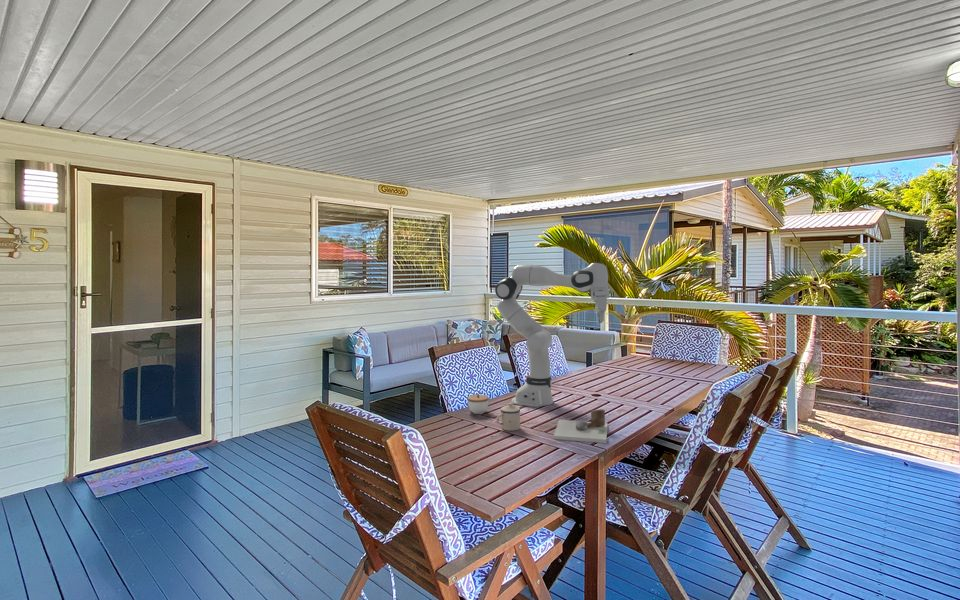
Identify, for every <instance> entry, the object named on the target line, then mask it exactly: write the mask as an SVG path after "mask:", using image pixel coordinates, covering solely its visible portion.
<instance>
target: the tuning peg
mask: <svg viewBox="0 0 960 600" xmlns="http://www.w3.org/2000/svg"><path fill="white" fill-rule="evenodd" d="M605 416H606V410H605V409H603V408H600V409H595V410H590V422H591V423H587V422H588V421H585V420H575V421H576V429H579V430H586V429H587V428H590V427H597V426H604V425H605V423H606V420H605V419H606V417H605Z"/></svg>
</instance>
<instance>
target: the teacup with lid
mask: <svg viewBox="0 0 960 600" xmlns="http://www.w3.org/2000/svg"><path fill="white" fill-rule="evenodd" d="M499 419H500V420H501V421H500V420H499ZM496 423H497V425H499V426H501V427H500V428H501V430H504V431H508V432H511V431H512V432H515V431H518V430H520V429H521V408H520V407H519V406H516V405H515V404H512V402H508V404H507V405H505V406H502V407H501V408H500V413H499V414H498V415H496Z"/></svg>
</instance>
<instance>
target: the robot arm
mask: <svg viewBox="0 0 960 600" xmlns="http://www.w3.org/2000/svg"><path fill="white" fill-rule="evenodd" d="M608 273H609V272H608V268H607V266H606V265H605V264H604V263H602V262H591V263H590V264H589V265H588V266H586V267H585V268H582V269H579V270H576V271H574V272H573V274H571V275H569V274H562V273H557V272H555V271H554V270H551V269H549V268H548V267H546V266H543V265H542V266H541V265H537V264H518V265H516V266H514V267H513V269H512V271H511V275H510V277H509V276H508V277H506V278H504V279H501V280H499V282H497V284H496V285H495V288H494V289H495V290H494V291H495V295H496V296H497V298H499V299H500V300H499V301H498V303H497V307H496V309H497V311H498V312H499V313H500V315H501V316H502V317H503V319H504V320H505V321H506V322H507V323H508V324H509V325H510V327H512V328H513V329H514V331H515V332H517V333H518V334H519V335H521V336H522V337H524V338H525V339H526V348H527V354H528V360H529V361H528V362H529V374H527V375H526V377H525V383H524V384H523V385H521V386H520V387H519V388H518V389H517V390H516V392H515V396H514V397H512V398H511V403H512V404H513V405H518V406H526V407H535V408H540V407H544V406H550V405H552V404H554V399H553V396H552V395H553V394H552V376H551V361H550V355H549V347H550V346H551V345H552V343H553V341H552V340H553V337H552V333H550V331H548V330H547V329H546V328H545V327H544V326H542V324H540V323H539V322H538V321H536V320H535V319H533V317H532V316H530V315H529V314H528V312H527V311H526V310H525V309H524V308H523V307H522V306H521V305H520V304H519V303H518V302H517V299H518V298H519V297H520V294H521V292H522V290H523V286H530V287H531V286H533V287H550V286H556V287H557V286H558V287H565V288H572V289H576V290H577V291H579V292H580V293H583V294H584V293H586V294H587V293H589V292H590V298H591V299H592V300H593V302H594V304H595V305H594V307H595V308H594V309H595V315H596V316H597V319H598V320H597V321H598V324H602V323H603V322H605V312H606V311H607V306H608V305H607V303H608V302H607V301H608V299H609V298H610V291H609V285H608V282H609V274H608Z"/></svg>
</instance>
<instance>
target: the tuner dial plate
mask: <svg viewBox="0 0 960 600" xmlns="http://www.w3.org/2000/svg"><path fill="white" fill-rule="evenodd" d="M576 421H577V420H567V419H559V420H558V423H557V425H556V428H555V431H554V434H553V440H560V441H561V440H562V441H573V442H576V441H577V442H587V443H588V442H589V443H597V444H599V443H601V444H607V440H606V439H607V436H608V422H605V425H604V426H597V427H590V428H587V429H586V430H579V429H576ZM586 422H587V423H591V421H586Z"/></svg>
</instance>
